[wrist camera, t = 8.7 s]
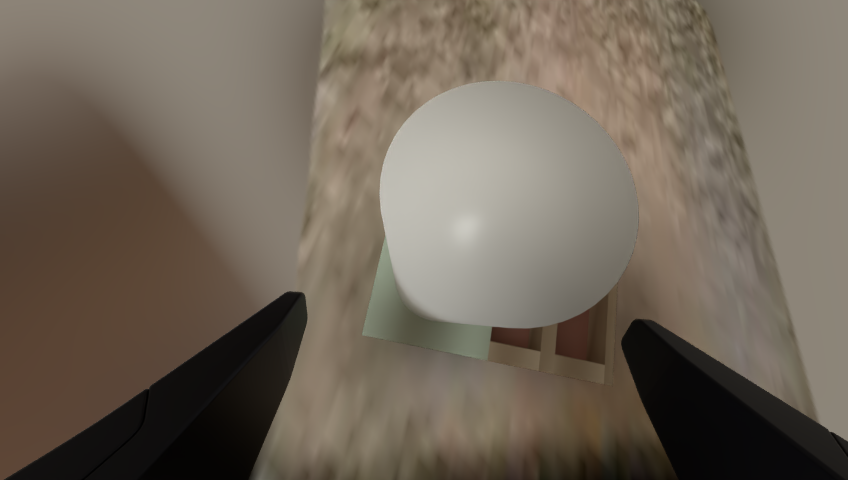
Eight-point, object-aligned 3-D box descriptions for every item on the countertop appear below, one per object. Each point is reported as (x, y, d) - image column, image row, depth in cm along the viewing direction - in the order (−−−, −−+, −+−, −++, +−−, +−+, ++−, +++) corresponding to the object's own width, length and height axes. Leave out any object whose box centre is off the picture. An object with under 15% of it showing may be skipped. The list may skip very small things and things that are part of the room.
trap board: (599, 250, 21) (619, 244, 19) (591, 379, 19) (612, 386, 17) (395, 207, 20) (394, 196, 19) (365, 333, 19) (361, 335, 17)
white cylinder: (460, 338, 17) (588, 382, 5) (378, 294, 17) (328, 244, 6) (497, 257, 18) (669, 147, 6) (420, 217, 18) (452, 43, 7)
